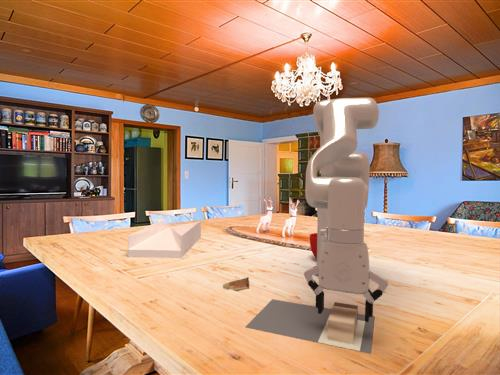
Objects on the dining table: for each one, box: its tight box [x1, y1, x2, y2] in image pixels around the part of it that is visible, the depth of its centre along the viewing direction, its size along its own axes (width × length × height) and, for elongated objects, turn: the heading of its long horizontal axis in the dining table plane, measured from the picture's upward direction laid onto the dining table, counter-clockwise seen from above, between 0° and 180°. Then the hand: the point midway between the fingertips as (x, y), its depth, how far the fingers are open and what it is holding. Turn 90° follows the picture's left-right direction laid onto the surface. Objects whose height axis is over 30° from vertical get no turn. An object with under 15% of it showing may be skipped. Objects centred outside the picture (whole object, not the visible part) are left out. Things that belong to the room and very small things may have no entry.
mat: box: [245, 298, 376, 355], centre depth 75 cm, size 18×26×1 cm
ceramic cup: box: [309, 232, 317, 260], centre depth 132 cm, size 13×17×10 cm
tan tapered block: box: [328, 301, 359, 344], centre depth 70 cm, size 10×5×4 cm, turn 157°
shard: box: [222, 276, 250, 292], centre depth 100 cm, size 11×8×2 cm
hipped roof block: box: [127, 220, 202, 259], centre depth 156 cm, size 45×22×10 cm, turn 179°
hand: (343, 315), depth 70 cm, fingers open, 9 cm apart
